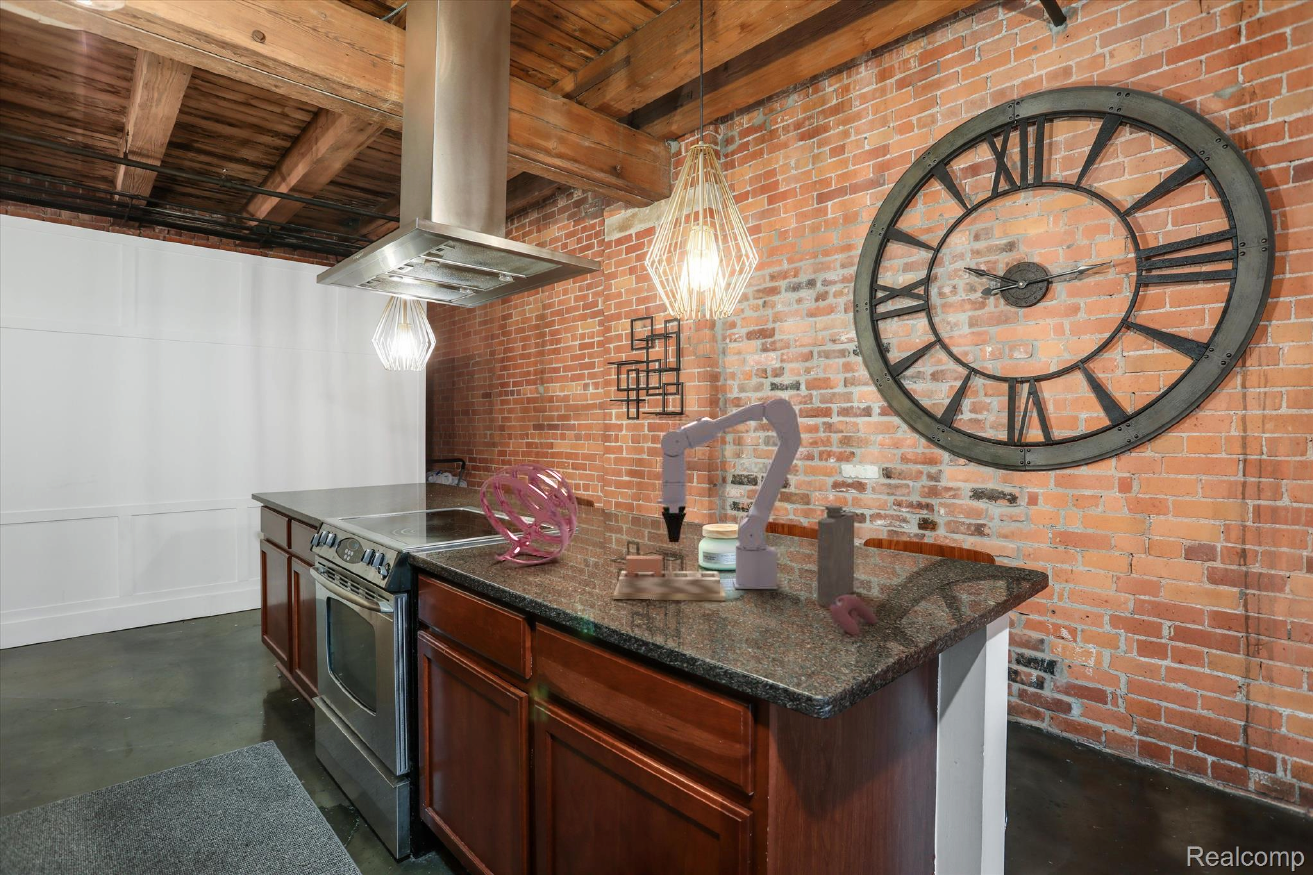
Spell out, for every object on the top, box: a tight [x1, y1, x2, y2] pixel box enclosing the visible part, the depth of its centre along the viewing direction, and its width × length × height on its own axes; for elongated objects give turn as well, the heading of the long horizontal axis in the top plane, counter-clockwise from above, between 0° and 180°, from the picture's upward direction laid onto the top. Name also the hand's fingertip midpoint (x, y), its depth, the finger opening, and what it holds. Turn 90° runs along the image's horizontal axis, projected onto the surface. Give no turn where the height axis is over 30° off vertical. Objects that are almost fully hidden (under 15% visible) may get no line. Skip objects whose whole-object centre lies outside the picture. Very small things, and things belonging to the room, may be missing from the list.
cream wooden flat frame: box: [613, 570, 726, 601], centre depth 142 cm, size 24×11×4 cm, turn 88°
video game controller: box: [829, 593, 877, 637], centre depth 119 cm, size 10×5×7 cm, turn 141°
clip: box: [625, 555, 663, 577], centre depth 142 cm, size 8×3×7 cm, turn 88°
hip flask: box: [816, 504, 855, 607], centre depth 139 cm, size 16×4×20 cm, turn 144°
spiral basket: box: [479, 462, 579, 566], centre depth 174 cm, size 28×28×27 cm
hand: (674, 538), depth 151 cm, fingers open, 7 cm apart
